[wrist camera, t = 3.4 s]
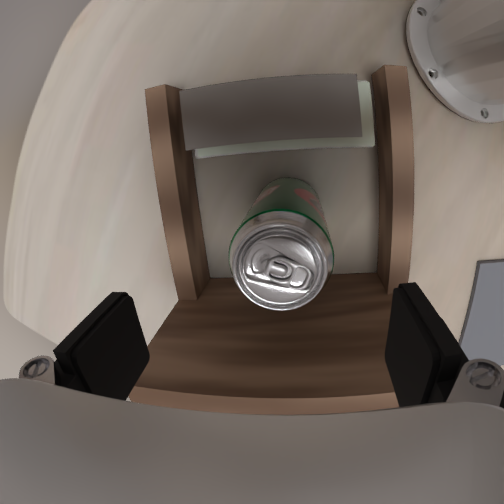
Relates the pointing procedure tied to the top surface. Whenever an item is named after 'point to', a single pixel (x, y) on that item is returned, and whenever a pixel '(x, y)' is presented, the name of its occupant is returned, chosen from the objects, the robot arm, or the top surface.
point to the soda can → (282, 247)
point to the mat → (485, 314)
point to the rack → (225, 289)
